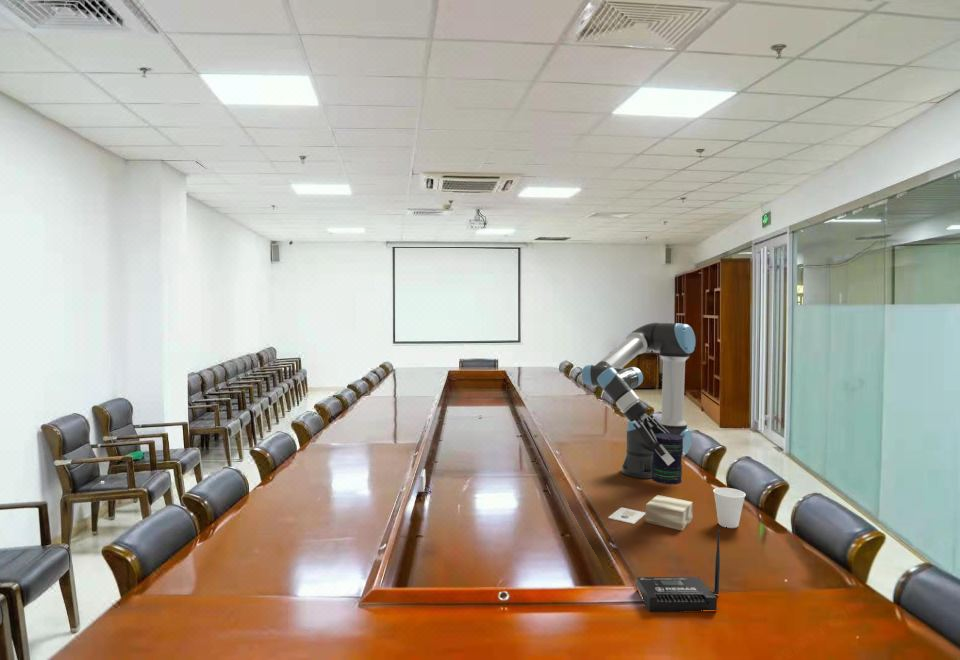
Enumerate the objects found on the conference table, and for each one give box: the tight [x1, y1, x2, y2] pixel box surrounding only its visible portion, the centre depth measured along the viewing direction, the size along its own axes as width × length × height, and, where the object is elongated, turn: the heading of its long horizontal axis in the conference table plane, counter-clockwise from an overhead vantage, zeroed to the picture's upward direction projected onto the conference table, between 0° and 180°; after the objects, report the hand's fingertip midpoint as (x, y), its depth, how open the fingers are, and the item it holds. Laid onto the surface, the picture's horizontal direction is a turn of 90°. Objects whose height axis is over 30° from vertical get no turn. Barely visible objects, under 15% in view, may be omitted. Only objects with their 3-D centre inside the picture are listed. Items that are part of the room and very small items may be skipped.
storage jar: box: [651, 433, 683, 486], centre depth 196 cm, size 10×10×15 cm
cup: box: [712, 487, 747, 529], centre depth 193 cm, size 10×10×11 cm
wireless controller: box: [636, 529, 721, 613], centre depth 144 cm, size 20×14×17 cm
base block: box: [644, 494, 694, 531], centre depth 197 cm, size 12×12×6 cm
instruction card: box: [607, 506, 646, 525], centre depth 201 cm, size 12×9×1 cm
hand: (676, 459), depth 194 cm, fingers closed on storage jar, 10 cm apart
